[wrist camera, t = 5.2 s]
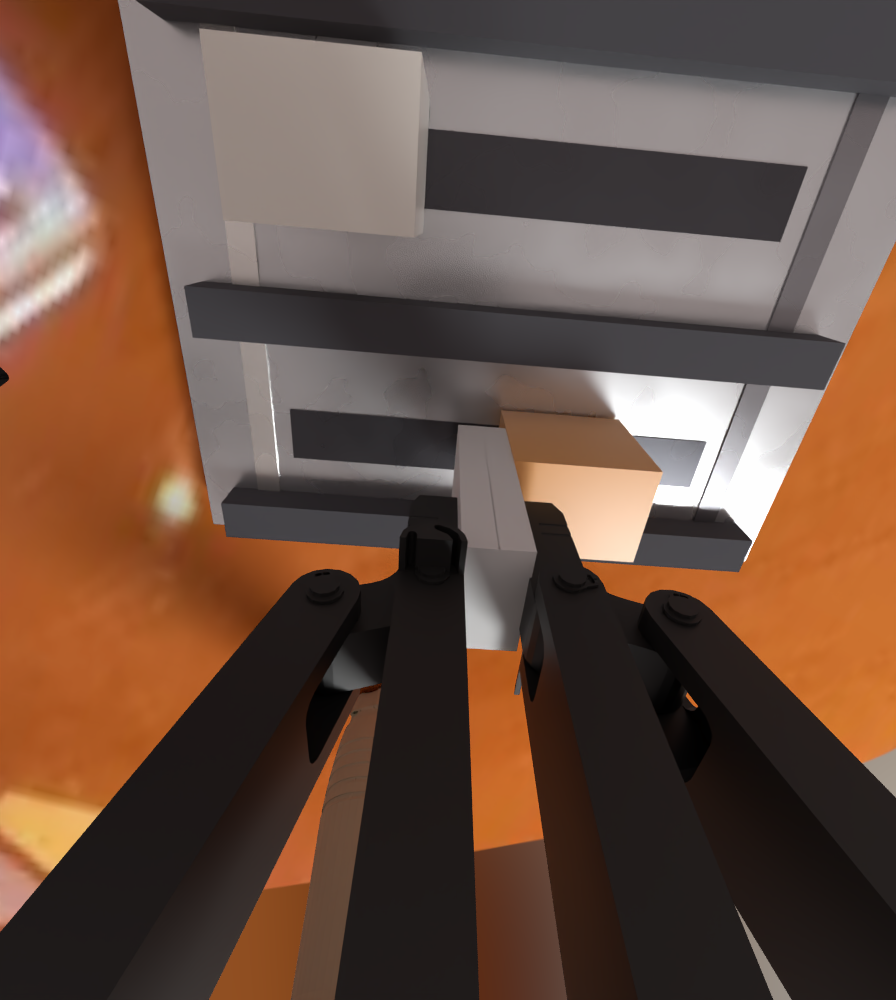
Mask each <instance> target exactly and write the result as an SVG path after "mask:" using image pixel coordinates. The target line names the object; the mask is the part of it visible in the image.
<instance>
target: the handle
mask: <svg viewBox="0 0 896 1000" xmlns="http://www.w3.org/2000/svg"><path fill="white" fill-rule="evenodd" d="M380 691H381V688H379V689H378V690H376V691H374V692H370V693H362V694H360V695H359V696H358V698H357V700H356V702H355V704H354V706H353V708H352V710H351V713H350V715H351V716H352V718H351V721H350V723H349V724H348V726H347V727H346V729H345V731H344V734H343V737H342V739H341V742H340V745H339V748H338V751H337V754H336V757H335V761H334V764H333V769H332V771H331V775H330V778H329V783H328V786H327V791H326V795H325V800H324V804H323V809H322V815H321V818H320V824H319V831H318V837H317V843H316V850H315V856H314V862H313V868H312V875H311V881H310V887H309V894H308V900H307V907H306V913H305V919H304V924H303V931H302V936H301V942H300V948H299V955H298V961H297V966H296V972H295V978H294V984H293V990H292V996H291V1000H334V999H335V992H336V986H337V979H338V972H339V965H340V959H341V952H342V945H343V939H344V932H345V925H346V919H347V912H348V905H349V899H350V892H351V885H352V878H353V872H354V865H355V858H356V852H357V845H358V838H359V832H360V825H361V818H362V811H363V805H364V798H365V791H366V785H367V778H368V771H369V765H370V758H371V751H372V745H373V738H374V731H375V724H376V718H377V711H378V704H379V698H380Z"/></svg>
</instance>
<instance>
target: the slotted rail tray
mask: <svg viewBox="0 0 896 1000" xmlns="http://www.w3.org/2000/svg"><path fill="white" fill-rule="evenodd" d="M136 1H137V2H138V3H140V4H141V5H143V6H144V7H146V8H147V9H149V10H150V11H151V12H153V13H154V14H156V15H157V16H159V17H160V18H161V19H163V20H172V21H181V22H191V23H208V24H218V25H227V26H234V27H238V28H247V29H256V30H266V31H275V32H285V33H294V34H304V35H313V36H322V37H332V38H341V39H351V40H360V41H369V42H379V43H388V44H398V45H407V46H417V47H426V48H435V49H445V50H454V51H464V52H473V53H482V54H492V55H501V56H511V57H520V58H530V59H539V60H548V61H558V62H567V63H577V64H586V65H595V66H605V67H614V68H624V69H633V70H643V71H652V72H661V73H671V74H680V75H690V76H699V77H708V78H718V79H727V80H737V81H746V82H756V83H765V84H774V85H784V86H793V87H803V88H812V89H821V90H831V91H840V92H850V93H867V94H876V95H886V96H890V97H896V0H136ZM184 289H185V295H186V301H187V307H188V313H189V319H190V325H191V331H192V336H193V338H202V339H214V340H226V341H238V342H250V343H262V344H274V345H286V346H298V347H310V348H322V349H334V350H346V351H358V352H370V353H382V354H394V355H406V356H418V357H430V358H442V359H454V360H466V361H478V362H490V363H502V364H514V365H526V366H538V367H550V368H562V369H574V370H586V371H598V372H610V373H622V374H634V375H646V376H658V377H670V378H682V379H694V380H706V381H718V382H730V383H742V384H754V385H766V386H778V387H790V388H802V389H814V390H824V389H825V387H826V385H827V383H828V381H829V378H830V376H831V374H832V372H833V370H834V368H835V366H836V364H837V361H838V359H839V357H840V355H841V353H842V351H843V349H844V346H845V344H846V343H843V342H840V341H837V340H833V339H830V338H827V337H824V336H821V335H813V334H802V333H786V332H775V331H767V330H756V329H744V328H733V327H721V326H710V325H699V324H687V323H676V322H664V321H653V320H641V319H630V318H619V317H607V316H596V315H584V314H573V313H561V312H550V311H539V310H527V309H516V308H504V307H493V306H481V305H470V304H459V303H447V302H436V301H424V300H413V299H401V298H390V297H378V296H367V295H356V294H344V293H333V292H321V291H310V290H298V289H287V288H276V287H264V286H249V285H237V284H230V283H218V282H207V281H201V282H197V283H193V284H189V285H185V286H184ZM413 501H414V500H406V499H392V498H379V497H365V496H351V495H337V494H323V493H310V492H296V491H282V490H280V491H269V490H258V489H255V488H241V487H234V488H233V489H232V490H231V491H230V493H229V494H228V495H227V496H226V498H225V499H224V500H223V501H222V503H221V507H222V513H223V519H224V525H225V531H226V536H227V537H239V538H253V539H268V540H282V541H297V542H311V543H326V544H340V545H355V546H369V547H384V548H398V549H399V541H400V535H401V533H402V532H403V530H404V529H406V528H407V526H408V519H409V512H410V505H411V503H412V502H413ZM752 542H753V541H752V540H751V539H750V538H749V536H748V535H747V534H746V533H745V532H744V531H743V530H742V529H741V528H740V527H739V526H738V525H737V524H736V523H723V522H714V523H710V522H696V521H693V520H681V519H668V518H654V517H648V519H647V522H646V525H645V528H644V531H643V534H642V537H641V540H640V543H639V546H638V549H637V552H636V555H635V558H634V561H633V562H621V561H606V560H592V559H580V560H581V561H587V562H601V563H616V564H630V565H645V566H659V567H674V568H688V569H703V570H717V571H732V572H739V570H740V568H741V566H742V564H743V562H744V560H745V557H746V555H747V553H748V551H749V549H750V547H751V545H752Z"/></svg>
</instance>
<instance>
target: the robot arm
mask: <svg viewBox="0 0 896 1000" xmlns="http://www.w3.org/2000/svg"><path fill="white" fill-rule="evenodd" d="M567 526H568V525H567V522H566V520H565V517H564V514H563V513H562V512H561V511H560V510H559V509H558V508H557V507H556V506H554V505H553V504H552V503H546V502H532V501H524V499H523V495H522V491H521V487H520V483H519V479H518V475H517V471H516V467H515V463H514V459H513V455H512V452H511V448H510V444H509V440H508V436H507V432H506V429H505V428H495V427H482V426H469V425H458V433H457V444H456V455H455V465H454V476H453V487H452V497H443V496H430V495H419V496H418V497H417V498H416V499H415V500H414V501H413V502H412V503H411V505H410V512H409V519H408V526H407V528H406V529H404V530H403V532H402V533H401V535H400V541H399V569H398V570H397V572H396V573H394V574H393V575H391V576H390V577H388V578H386V579H384V580H381V581H378V582H374V583H369V584H362V585H359V582H358V581H357V580H356V579H355V578H354V577H353V576H352V575H351V574H349V573H346V572H344V571H341V570H333V569H323V570H316V571H312V572H310V573H307V574H305V575H303V576H301V577H300V578H298V579H297V580H296V581H295V582H294V583H292V585H291V586H290V587H289V588H288V589H287V591H286V592H285V593H284V594H283V595H282V597H281V598H280V599H279V600H278V601H277V603H276V604H275V605H274V606H273V607H272V609H271V610H270V611H269V612H268V613H267V615H266V616H265V617H264V618H263V619H262V620H261V622H260V623H259V624H258V625H257V626H256V628H255V629H254V630H253V631H252V632H251V634H250V635H249V636H248V637H247V638H246V640H245V641H244V642H243V643H242V644H241V646H240V647H239V648H238V649H237V650H236V652H235V653H234V654H233V655H232V656H231V657H230V659H229V660H228V661H227V662H226V663H225V665H224V666H223V667H222V668H221V669H220V671H219V672H218V673H217V674H216V675H215V677H214V678H213V679H212V680H211V681H210V683H209V684H208V685H207V686H206V687H205V689H204V690H203V691H202V692H201V693H200V695H199V696H198V697H197V698H196V699H195V700H194V702H193V703H192V704H191V705H190V706H189V708H188V709H187V710H186V711H185V712H184V714H183V715H182V716H181V717H180V718H179V720H178V721H177V722H176V723H175V724H174V726H173V727H172V728H171V729H170V730H169V732H168V733H167V734H166V735H165V736H164V737H163V739H162V740H161V741H160V742H159V743H158V745H157V746H156V747H155V748H154V749H153V751H152V752H151V753H150V754H149V755H148V757H147V758H146V759H145V760H144V761H143V763H142V764H141V765H140V766H139V767H138V769H137V770H136V771H135V772H134V773H133V774H132V776H131V777H130V778H129V779H128V780H127V782H126V783H125V784H124V785H123V786H122V788H121V789H120V790H119V791H118V792H117V794H116V795H115V796H114V797H113V798H112V800H111V801H110V802H109V803H108V804H107V806H106V807H105V808H104V809H103V810H102V811H101V813H100V814H99V815H98V816H97V817H96V819H95V820H94V821H93V822H92V823H91V825H90V826H89V827H88V828H87V829H86V831H85V832H84V833H83V834H82V835H81V837H80V838H79V839H78V840H77V841H76V843H75V844H74V845H73V846H72V847H71V849H70V850H69V851H68V852H67V853H66V854H65V856H64V857H63V858H62V859H61V860H60V862H59V863H58V864H57V865H56V866H55V868H54V869H53V870H52V871H51V872H50V874H49V875H48V876H47V877H46V878H45V880H44V881H43V882H42V883H41V884H40V886H39V887H38V888H37V889H36V890H35V891H34V893H33V894H32V895H31V896H30V897H29V899H28V900H27V901H26V902H25V903H24V905H23V906H22V907H21V908H20V909H19V911H18V912H17V913H16V914H15V915H14V917H13V918H12V919H11V920H10V921H9V923H8V924H7V925H6V926H5V927H4V928H3V930H2V931H1V932H0V1000H209V998H210V996H211V994H212V992H213V990H214V988H215V986H216V984H217V982H218V980H219V978H220V976H221V974H222V972H223V970H224V968H225V965H226V963H227V962H228V959H229V957H230V955H231V953H232V951H233V949H234V947H235V945H236V943H237V941H238V939H239V937H240V935H241V933H242V931H243V929H244V927H245V925H246V923H247V921H248V919H249V917H250V915H251V913H252V911H253V909H254V907H255V905H256V903H257V901H258V898H259V897H260V895H261V893H262V891H263V889H264V887H265V885H266V882H267V880H268V878H269V876H270V874H271V872H272V870H273V868H274V866H275V864H276V862H277V860H278V858H279V856H280V854H281V852H282V850H283V848H284V846H285V844H286V842H287V840H288V838H289V836H290V834H291V832H292V830H293V828H294V826H295V824H296V822H297V820H298V818H299V816H300V814H301V812H302V810H303V808H304V805H305V803H306V801H307V799H308V797H309V795H310V793H311V791H312V789H313V787H314V785H315V783H316V781H317V779H318V777H319V775H320V773H321V771H322V769H323V767H324V765H325V763H326V761H327V759H328V757H329V755H330V753H331V751H332V749H333V747H334V745H335V743H336V741H337V739H338V737H339V735H340V733H341V731H342V728H343V726H344V724H345V722H346V720H347V718H348V716H349V714H350V712H351V710H352V708H353V706H354V704H355V702H356V700H357V698H358V696H359V694H360V690H361V688H363V687H367V686H371V685H376V684H380V683H382V684H381V691H380V698H379V704H378V711H377V718H376V724H375V731H374V738H373V745H372V751H371V758H370V765H369V771H368V778H367V785H366V791H365V798H364V805H363V811H362V818H361V825H360V832H359V838H358V845H357V852H356V858H355V865H354V872H353V878H352V885H351V892H350V899H349V905H348V912H347V919H346V925H345V932H344V939H343V945H342V952H341V959H340V965H339V972H338V979H337V986H336V992H335V999H334V1000H479V982H478V956H477V955H478V954H477V927H476V901H475V900H476V898H475V873H474V872H475V871H474V842H473V814H472V787H471V759H470V731H469V703H468V675H467V648H474V649H490V650H506V651H517V647H518V642H519V637H521V643H522V649H523V652H522V656H521V661H520V666H519V670H518V675H517V680H516V684H515V692H514V695H519V694H520V689H521V685H522V692H523V698H524V705H525V712H526V719H527V726H528V733H529V740H530V747H531V753H532V760H533V767H534V774H535V781H536V788H537V795H538V802H539V808H540V815H541V822H542V829H543V836H544V843H545V849H546V857H547V864H548V870H549V877H550V883H551V891H552V898H553V904H554V911H555V919H556V925H557V932H558V939H559V945H560V953H561V959H562V967H563V974H564V980H565V987H566V994H567V1000H773V998H772V996H771V993H770V991H769V988H768V986H767V983H766V981H765V979H764V976H763V974H762V971H761V969H760V966H759V964H758V962H757V959H756V957H755V954H754V952H753V949H752V947H751V944H750V942H749V940H748V937H747V935H746V932H745V930H744V927H743V925H742V922H741V920H740V917H739V915H738V912H737V910H736V908H737V909H738V911H739V913H740V914H741V916H742V918H743V919H744V921H745V923H746V925H747V926H748V928H749V929H750V931H751V933H752V934H753V936H754V938H755V940H756V941H757V943H758V944H759V946H760V948H761V949H762V951H763V953H764V954H765V956H766V958H767V959H768V961H769V963H770V964H771V966H772V968H773V969H774V971H775V973H776V974H777V976H778V978H779V979H780V981H781V983H782V984H783V986H784V988H785V989H786V991H787V993H788V994H789V996H790V998H791V999H792V1000H896V798H895V796H893V794H892V793H890V792H889V790H888V789H887V788H885V786H884V785H883V784H882V783H881V782H880V781H879V780H878V779H877V778H876V777H875V776H874V775H873V774H872V773H871V772H870V771H869V770H868V769H867V768H866V767H865V766H864V765H863V764H862V763H861V762H860V761H859V760H858V759H857V758H856V757H855V756H854V755H853V754H852V753H851V752H850V751H849V750H848V749H847V748H846V747H845V746H844V745H843V744H842V743H841V742H840V741H839V739H838V738H837V737H836V736H835V735H834V734H833V733H832V732H831V731H830V730H829V729H828V728H827V727H826V726H825V725H824V724H823V723H822V722H821V721H820V720H819V719H818V718H817V717H816V716H815V715H814V714H813V713H812V712H811V711H810V710H809V709H808V708H807V707H806V706H805V705H804V704H803V703H802V702H801V701H800V700H799V699H798V698H797V697H796V696H795V695H794V694H793V693H792V692H791V691H790V690H789V689H788V688H787V687H786V686H785V685H784V684H783V682H782V681H781V680H780V679H779V678H778V677H777V676H776V675H775V674H774V673H773V672H772V671H771V670H770V669H769V668H768V667H767V666H766V665H765V664H764V663H763V662H762V661H761V660H760V659H759V658H758V657H757V656H756V655H755V654H754V653H753V652H752V651H751V650H750V649H749V648H748V647H747V646H746V645H745V644H744V643H743V642H742V641H741V640H740V639H739V638H738V637H737V636H736V635H735V634H734V633H733V632H732V631H731V630H730V629H729V628H728V627H727V625H726V624H725V623H724V622H723V621H722V620H721V619H720V618H719V617H718V616H717V615H716V614H715V613H714V612H713V611H712V610H711V609H710V608H708V607H707V606H706V605H705V604H703V603H702V602H701V601H700V600H698V599H696V598H694V597H692V596H690V595H688V594H685V593H682V592H678V591H674V590H658V591H655V592H651V593H650V594H649V595H648V596H647V598H646V599H645V602H644V604H641V603H637V602H634V601H630V600H627V599H623V598H620V597H617V596H614V595H611V594H609V593H607V592H606V590H605V587H604V585H603V583H602V582H601V580H600V579H599V577H598V576H597V575H595V574H594V573H593V572H591V571H590V570H589V569H586V568H584V567H583V565H582V562H581V560H580V557H579V554H578V552H577V549H576V546H575V544H574V541H573V538H572V537H571V533H570V530H569V528H568V527H567ZM687 692H688V694H689V695H690V696H691V697H692V699H693V700H694V701H695V703H696V704H697V705H698V707H697V708H696V707H694V706H693V705H692V704H691V703H690V701H689V700H688V699H687V697H686V694H687ZM735 906H736V908H735Z"/></svg>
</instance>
